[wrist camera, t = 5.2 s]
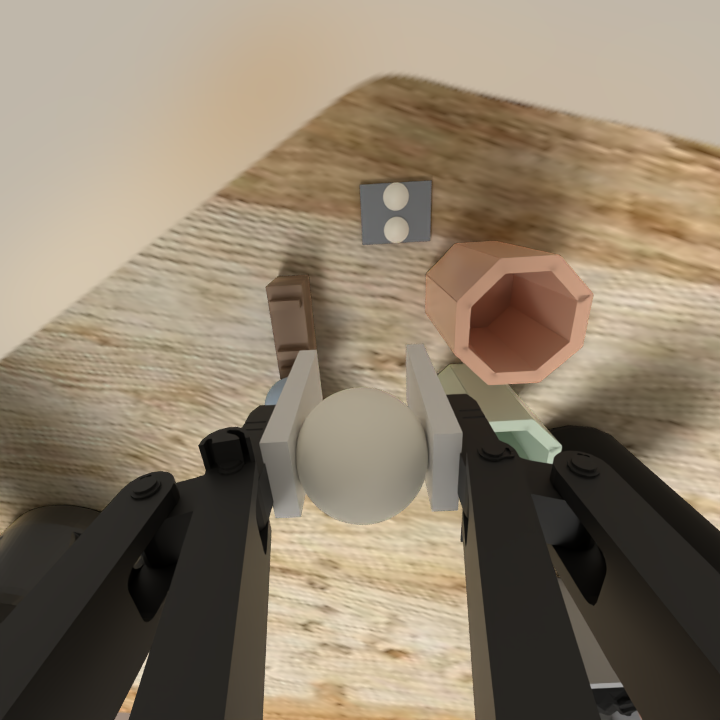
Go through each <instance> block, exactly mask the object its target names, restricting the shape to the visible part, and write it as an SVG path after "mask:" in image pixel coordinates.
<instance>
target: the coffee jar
mask: <svg viewBox="0 0 720 720" xmlns="http://www.w3.org/2000/svg"><path fill="white" fill-rule="evenodd" d="M549 431H550V433H551V434H552V435H553V436H554V437H555V438H556V439H557V441H558V442H559V443H560V444H561V445H562V449H561V452H564V451H580V452H584V453H588V454H591V455H593V456H595V457H597V458H600V459H601V460H603V461H604V462H605V463H607V464H608V465H609V466H610V467H611V468H612V469H614V470H615V471H616V472H617V473H618V474H619V475H620V476H621V477H622V478H623V479H624V480H625V481H626V482H627V483H628V484H629V485H630V486H631V487H632V488H633V489H634V490H635V491H636V492H637V493H638V494H639V495H640V496H641V497H642V498H643V499H644V500H645V501H646V502H647V503H648V504H649V505H650V506H651V507H652V508H653V509H654V510H655V511H656V512H657V513H658V514H659V515H660V516H661V517H662V518H663V519H664V520H665V521H666V522H667V523H668V524H669V525H671V526H672V527H673V528H674V529H675V530H676V531H677V532H678V533H679V534H680V535H681V536H682V537H683V538H684V539H685V540H686V541H687V542H688V543H689V544H690V545H691V546H692V547H693V548H694V549H695V550H696V551H697V552H698V553H699V554H700V555H701V556H702V557H703V558H704V559H705V560H706V561H707V562H708V563H709V564H710V565H711V566H712V567H713V568H714V569H715V570H716V571H717V572H718V573H719V574H720V531H719V530H718V529H717V528H716V527H715V526H713V525H712V524H711V523H710V522H709V521H708V520H707V519H705V518H704V517H703V516H702V515H701V514H700V513H699V512H698V511H696V510H695V509H694V508H693V507H692V506H691V505H690V504H688V503H687V502H686V501H685V500H684V499H683V498H682V497H680V496H679V495H678V494H677V493H676V492H675V491H674V490H672V489H671V488H670V487H669V486H668V485H667V484H666V483H665V482H663V481H662V480H661V479H660V478H659V477H658V476H657V475H655V474H654V473H653V472H652V471H651V470H650V469H649V468H647V467H646V466H645V465H644V464H643V463H642V462H641V461H639V460H638V459H637V458H636V457H635V456H634V455H633V454H632V453H630V452H629V451H628V450H627V449H626V448H625V447H624V446H622V445H621V444H620V443H619V442H618V441H617V440H616V439H614V438H613V437H612V436H611V435H609V434H607V433H605V432H602V431H600V430H598V429H595V428H592V427H579V426H564V427H559V428H553V429H551V430H549ZM596 641H597V640H596ZM600 648H601V647H600ZM603 653H604V652H603ZM604 655H605V654H604ZM605 657H606V656H605ZM607 660H608V659H607ZM608 662H609V661H608ZM609 664H610V663H609ZM611 667H612V666H611ZM612 669H613V668H612ZM637 712H638V711H637ZM638 714H639V713H638ZM639 716H640V715H639ZM640 718H641V717H640ZM641 719H642V718H641Z"/></svg>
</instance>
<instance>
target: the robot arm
mask: <svg viewBox="0 0 720 720" xmlns="http://www.w3.org/2000/svg"><path fill="white" fill-rule="evenodd" d="M406 397H407V403H408V407H409V408H410V409H411V410H412V411H413V413H414V414H415V415H416V417H417V418H418V420H419V422H420V423H421V426H422V428H423V431H424V433H425V436H426V440H427V445H428V468H427V472H426V476H425V483H426V487H427V492H428V496H429V501H430V505H431V509H432V511H454V510H458V501H459V499H460V502H461V505H462V508H463V513H462V527H461V542H463V546H464V561H465V575H466V590H467V604H468V619H469V633H470V648H471V662H472V677H473V691H474V706H475V720H601V718H600V715H599V711H598V708H597V705H596V702H595V699H594V695H593V692H592V689H591V686H590V682H589V679H588V676H587V673H586V670H585V666H584V663H583V660H582V657H581V653H580V650H579V647H578V644H577V641H576V637H575V634H574V631H573V628H572V625H571V621H570V618H569V615H568V612H567V608H566V605H565V602H564V599H563V596H562V592H561V589H560V586H559V583H558V579H557V576H556V573H555V570H554V568H555V569H556V571H557V573H558V575H559V576H560V578H561V580H562V581H563V583H564V585H565V587H566V588H567V590H568V592H569V594H570V595H571V597H572V599H573V601H574V602H575V604H576V606H577V607H578V609H579V611H580V613H581V614H582V616H583V618H584V620H585V621H586V623H587V625H588V626H589V628H590V630H591V632H592V633H593V635H594V637H595V639H596V640H597V642H598V644H599V646H600V647H601V649H602V651H603V652H604V654H605V656H606V658H607V659H608V661H609V663H610V665H611V666H612V668H613V670H614V672H615V673H616V675H617V677H618V678H619V680H620V682H621V684H622V685H623V687H624V689H625V691H626V692H627V694H628V696H629V697H630V699H631V701H632V703H633V704H634V706H635V708H636V710H637V711H638V713H639V715H640V717H641V718H642V720H720V574H719V573H718V572H717V571H716V570H715V569H714V568H713V567H712V566H711V565H710V564H709V563H708V562H707V561H706V560H705V559H704V558H703V557H702V556H701V555H700V554H699V553H698V552H697V551H696V550H695V549H694V548H693V547H692V546H691V545H690V544H689V543H688V542H687V541H686V540H685V539H684V538H683V537H682V536H681V535H680V534H679V533H678V532H677V531H676V530H675V529H674V528H673V527H672V526H671V525H669V524H668V523H667V522H666V521H665V520H664V519H663V518H662V517H661V516H660V515H659V514H658V513H657V512H656V511H655V510H654V509H653V508H652V507H651V506H650V505H649V504H648V503H647V502H646V501H645V500H644V499H643V498H642V497H641V496H640V495H639V494H638V493H637V492H636V491H635V490H634V489H633V488H632V487H631V486H630V485H629V484H628V483H627V482H626V481H625V480H624V479H623V478H622V477H621V476H620V475H619V474H618V473H617V472H616V471H615V470H614V469H612V468H611V467H610V466H609V465H608V464H607V463H605V462H604V461H603V460H601V459H600V458H597V457H595V456H593V455H591V454H588V453H584V452H580V451H564V452H559V453H558V454H557V455H555V456H554V459H553V464H549V463H543V462H537V461H532V460H527V459H524V458H521V457H519V455H518V453H517V451H516V450H515V449H514V448H513V447H512V446H510V445H509V444H507V443H505V442H502V441H500V440H499V439H498V437H497V435H496V434H495V432H494V430H493V429H492V427H491V425H490V423H489V422H488V420H487V418H485V415H484V413H483V411H481V408H480V406H479V405H478V403H477V401H476V400H475V399H473V398H472V397H470V396H469V395H467V394H449V395H446V394H445V392H444V389H443V387H442V385H441V383H440V380H439V378H438V376H437V373H436V371H435V369H434V367H433V364H432V362H431V360H430V358H429V355H428V353H427V351H426V348H425V346H424V344H406ZM321 401H323V397H322V389H321V381H320V373H319V364H318V356H317V350H302V351H299V353H298V355H297V358H296V360H295V362H294V364H293V367H292V369H291V371H290V374H289V376H288V378H287V381H286V383H285V385H284V387H283V390H282V392H281V394H280V397H279V399H278V401H277V404H276V405H260V406H258V407H257V408H256V409H255V410H254V411H252V412H251V413H250V414H249V416H248V418H247V420H246V422H245V424H244V425H243V427H242V428H239V427H228V428H224V429H220V430H217V431H215V432H213V433H211V434H209V435H208V436H207V437H205V438H204V439H203V440H202V441H201V443H200V444H199V445H198V446H199V449H200V452H201V456H202V459H203V462H204V466H205V469H206V472H205V475H203V476H200V477H197V478H193V479H189V480H185V481H182V482H178V483H176V482H175V479H174V476H173V475H172V474H170V473H169V472H163V471H159V472H152V473H149V474H146V475H143V476H140V477H139V478H137V479H135V480H133V481H132V482H130V483H129V484H128V485H126V486H125V487H124V488H123V489H122V490H121V491H120V492H119V493H118V494H117V495H116V497H115V498H114V499H113V500H112V501H111V502H110V503H109V504H108V505H107V507H106V508H105V509H104V510H103V511H102V512H101V513H100V512H97V511H94V510H91V509H87V508H82V507H77V506H68V505H54V506H45V507H40V508H37V509H33V510H31V511H29V512H26V513H25V514H23V515H22V516H20V517H19V518H18V519H17V520H16V521H15V522H13V523H12V524H11V525H10V526H9V527H8V528H7V529H6V530H5V531H4V532H3V533H2V534H0V720H114V719H115V717H116V715H117V713H118V712H119V710H120V708H121V706H122V704H123V702H124V700H125V698H126V696H127V694H128V692H129V690H130V688H131V686H132V684H133V682H134V680H135V679H136V677H137V675H138V673H139V671H140V669H141V667H142V665H143V663H144V661H145V659H146V657H147V655H148V653H149V656H148V659H147V662H146V665H145V669H144V672H143V675H142V678H141V682H140V685H139V688H138V691H137V694H136V698H135V701H134V704H133V707H132V711H131V714H130V717H129V720H263V701H264V679H265V658H266V636H267V615H268V594H269V572H270V551H271V526H270V521H269V516H270V512H271V509H272V506H273V508H274V513H275V517H276V518H290V517H301V514H302V509H303V504H304V499H305V494H306V492H305V491H304V489H303V487H302V484H301V482H300V480H299V476H298V472H297V465H296V446H297V440H298V435H299V433H300V430H301V428H302V425H303V423H304V421H305V420H306V418H307V417H308V415H309V414H310V412H311V411H312V410H313V409H314V408H315V407H316V406H317V405H318V404H319V403H320V402H321ZM553 566H554V567H553ZM149 651H150V652H149Z"/></svg>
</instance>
